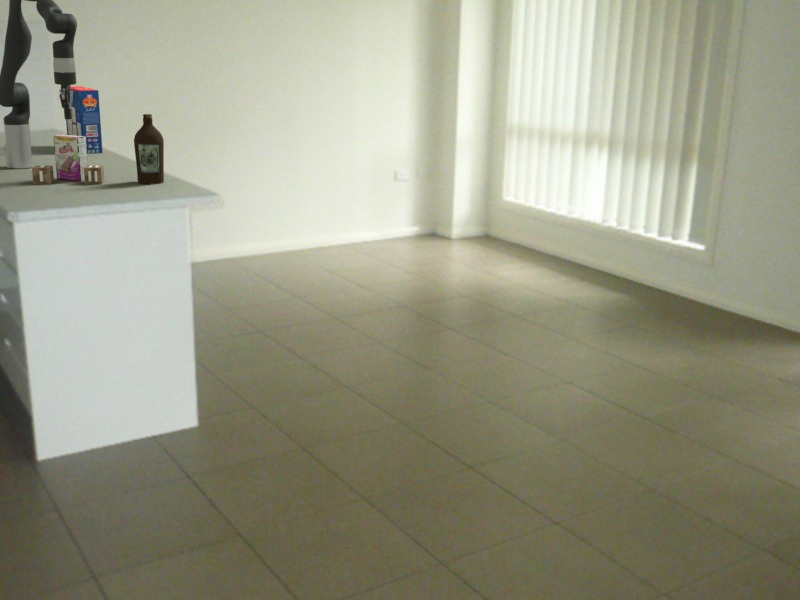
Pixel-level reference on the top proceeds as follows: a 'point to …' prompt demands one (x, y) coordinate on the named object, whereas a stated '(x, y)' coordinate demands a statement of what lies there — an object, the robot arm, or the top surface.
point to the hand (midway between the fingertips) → (68, 119)
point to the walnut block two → (94, 174)
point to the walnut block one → (42, 174)
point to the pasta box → (86, 118)
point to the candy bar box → (70, 157)
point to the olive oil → (149, 153)
